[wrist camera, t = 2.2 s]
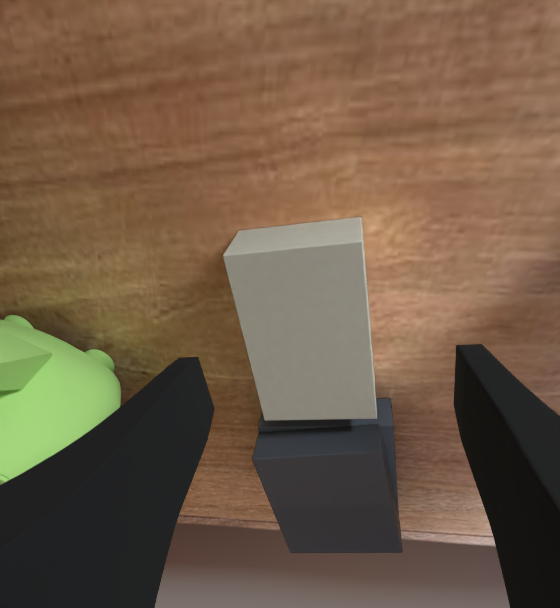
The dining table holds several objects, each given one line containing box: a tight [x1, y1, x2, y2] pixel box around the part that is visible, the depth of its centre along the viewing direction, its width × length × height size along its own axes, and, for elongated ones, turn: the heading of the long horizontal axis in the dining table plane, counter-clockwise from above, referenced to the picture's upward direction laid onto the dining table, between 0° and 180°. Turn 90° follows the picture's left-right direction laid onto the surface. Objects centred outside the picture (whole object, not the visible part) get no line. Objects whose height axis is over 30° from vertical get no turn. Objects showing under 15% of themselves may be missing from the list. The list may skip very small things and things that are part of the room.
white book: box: [223, 217, 377, 421], centre depth 20 cm, size 9×6×3 cm, turn 10°
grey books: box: [252, 398, 403, 553], centre depth 24 cm, size 9×7×4 cm
